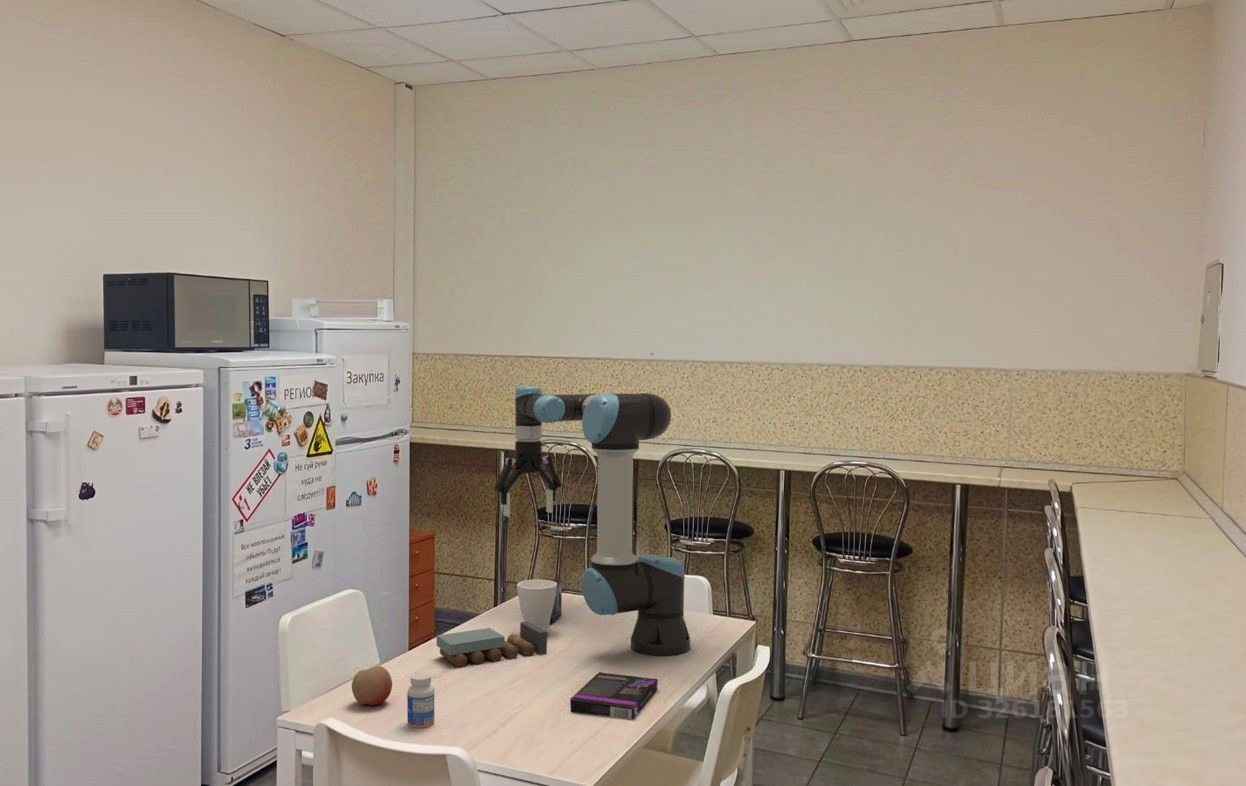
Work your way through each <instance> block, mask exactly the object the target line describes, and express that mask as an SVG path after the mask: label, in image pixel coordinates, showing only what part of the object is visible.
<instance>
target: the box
mask: <svg viewBox="0 0 1246 786" xmlns="http://www.w3.org/2000/svg"><path fill="white" fill-rule="evenodd" d="M658 681H659V680H658V678H649V677H641V676H635V675H625V674H616V673H607V672H601V671H599V672H598V673H597V674H596V675H594V677H592V678H591V679H590V680H589V681H588V682H586V683H585V684H584V685H583V686H582V687H581V688H580V689H579V690H578V691H577V692H576V693H575V694H573V696H572V697H570V713H576V714H577V713H579V714H587V715H594V716H601V717H611V718H616V719H617V718H619V719H626V720H627V719H628V720H634V719H635V718H636V717H637V715H638V714H639V713H640V712H641V711H642V709H643V708H644V707H645V705H646V704H647V703H648V702H649V701H650V699H651V698H652V697H653V696H654V694H656V692H657V691H658Z"/></svg>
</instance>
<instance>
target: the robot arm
mask: <svg viewBox="0 0 1246 786" xmlns="http://www.w3.org/2000/svg"><path fill="white" fill-rule="evenodd" d="M667 402H668V401H666V400H665V399H664V398H663V397H662V396H659V395H658V394H654V393H650V392H649V393H646V392H643V393H642V392H640V393H611V392H610V393H604V394H601V393H580V394H579V393H577V394H543V390H542V388H541V387H540V386H536V385H534V386H532V385H531V386H530V385H527V386H526V385H523V386H517V387H516V388H515V398H514V404H515V405H514V406H515V408H514V410H515V412H514V413H515V414H514V415H515V429H514V430H515V431H514V432H515V438H514V439H515V440H516V441H515V442H514V444H515V445H514V449H515V450H514V451H515V452H514V453H515V457H514V458H510V457H505V458H504V464H503V468H502V470H501V472H500V474H499V476H498V479H497V481H496V484H495V486H494V488H493V489H494V491H496V492H498V493H500V504H501V505H503V507H502V509H503V512H502V513H503V514H502V515H503V516H505V517H506V518H507V517H509V518H510V517H511V493H509V491H510V489H511V488H512V487H513V485H514V484H515V483H516V481H517V480H518V479H519V477H520V476H521V475H522V474H529V473H532V474H535V473H536V474H537V475H538V476H539V478H540V479H541V481H542V482H543V483H544V484H545V485H546V487H547V489H545V492H546V493H545V501H546V502H545V505H546V506H545V512H547V513H550V514H551V513H552V514H553V513H554V512H553V511H554V509H553V508H554V507H553V506H554V505H553V504H554V501H556V491H557V490H558V488H561V487H562V483H561V480H560V478H559V476H558V473H557V472H556V469H555V467H554V465H553V461H552V460H553V459H552V456H550V455H544V456H542V448H543V446H542V444H543V442H542V441H541V440H542V438H543V437H542V435H543V434H542V432H543V430H542V429H543V426H542V425H543V423H545V424H553V423H557V422H572V421H573V422H575V421H576V422H578V421H579V422H580V421H582V422H581V425H582V426H581V429H582V432H583V436H584V438H585V439H586V441H588V442H589V443H591V450H592V451H593V452H594V453H595V454H596V455H597V506H596V507H597V511H596V513H597V514H596V516H597V517H596V518H597V520H596V522H597V526H596V527H597V532H596V533H597V534H596V535H597V536H596V537H597V538H596V539H597V540H596V541H597V542H596V543H597V544H596V547H597V548H596V550H597V551H596V552H595V554H594V555H593V556H592V557H591V558H590V567H588V568H586V569H585V570H583V573H582V575H581V579H580V580H581V583H580V585H581V592H582V596H583V598H584V601H585V603H586V604H587V607H588V608H589V609H590V611H592V612H593V613H594V614H596V615H598V616H608V615H610V616H615V615H617V614H623V613H629V612H636V611H637V619H636V621H635V625H634V627H633V631H632V634H631V635H630V649H632V650H633V651H635V652H637V653H640V654H643V655H649V656H674V655H679V654H684V653H686V652H688V651H689V650H690V649H691V637H690V634H689V630H688V628H687V625H686V622H685V617H684V613H685V611H684V609H685V607H684V606H685V605H684V604H685V600H684V599H685V593H684V592H685V579H686V577H685V568H684V567H685V566H684V563H683V562H682V561H681V560H679V559H678V558H675V557H670V556H665V555H660V554H659V555H657V554H641V555H639V556H638V557H637V556H636V555H635V554H634V552H633V482H634V481H633V479H634V478H633V474H634V473H633V471H634V470H633V465H634V463H633V461H634V458H633V457H634V455H635V454H636V453H637V452H638V451H639V449H640V441H646V440H652V439H655V438H658V437H660V436H661V435H663V434H664V433H665V432H666V431H667V430H668V428H669V426H670V424H671V422H672V421H671V420H672V411H671V409H670V406H669V404H668V403H667ZM542 463H543V464H544V467H545V468H546V470H547V472H548V475H549V476H548V475H547V474H546V472H545V471H544V469H543V468H542V466H541V465H542ZM514 465H515V467H514V469H513V471H512V467H513V466H514ZM511 471H512V473H511ZM509 474H510V476H509Z"/></svg>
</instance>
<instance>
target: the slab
mask: <svg viewBox="0 0 1246 786" xmlns="http://www.w3.org/2000/svg"><path fill="white" fill-rule="evenodd" d="M505 638H506V637H505V635H503V634H502V633H499V632H498V631H496V630H494V629H492V628H491V627H486V628H479V629H472V630H465V631H459V632H453V633H445V634H444V633H443V634H438V635H436V647H438V648H439V649H440V648H441V649H442V650H444V651H445V652H446V653H448V654H449V655H455V654H462V653H468V652H474V651H481V650H487V649H493V648H500V647H505V641H506V639H505Z"/></svg>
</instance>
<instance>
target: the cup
mask: <svg viewBox="0 0 1246 786" xmlns="http://www.w3.org/2000/svg"><path fill="white" fill-rule="evenodd" d="M516 586H517V596H518V604H519V607H520V611H521V614H522V619H523V622H529V623H531V624H533V625H535V626H537V627H539V628H541V629H543V630H545V631H546V632H547V636H548V635H549V632H550V631H549V629H550V625H549V623H550V618H551V614H552V610H553V607H554V602H555V597H556V590H557V583H556V582H554V581H550V580H541V579H527V580H522V581H519V582H518V583H517V585H516Z"/></svg>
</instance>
